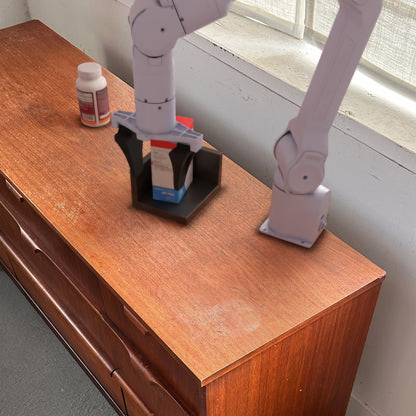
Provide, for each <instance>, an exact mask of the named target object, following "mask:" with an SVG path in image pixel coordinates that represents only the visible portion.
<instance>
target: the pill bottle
mask: <svg viewBox="0 0 416 416" xmlns="http://www.w3.org/2000/svg"><path fill="white" fill-rule="evenodd" d="M77 75H78V77H77V78H76V80H75V88H76V94H77V102H78V109H79V116H80V121H81V123H82V124H83V125H85V126H86V127H91V128H98V127H103V126H106V125H107V124H108V123H109V122H110V121H111V110H110V100H109V90H108V82H107V79H106V77H105V76H104V75H103V71H102V66H101V64H99V63H96V62H94V61H93V62H91V61H89V62H88V61H87V62H83V63H80V64H79V65H78V66H77Z"/></svg>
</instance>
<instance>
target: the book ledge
mask: <svg viewBox="0 0 416 416" xmlns="http://www.w3.org/2000/svg"><path fill="white" fill-rule="evenodd" d="M223 153H224V152H223V151H220V150H217V149H213V148H211V147H207V146H205V145H203V147H202V148H201V149H200V150H198V151H197V152H196V153H195V155H194V157H193V180H192V182H191V183H190V185H189V187H188V188H187V190H186V192H185V193H184V195H183V197H182V198H181V200H180V202H179V203H178V204H177V203H171V202H166V201H161V200H155V199H153V186H152V166H151V150H150V151H148V153H147V154H145V156H144V155H143V171H142V172H141V173H140V174H139V175H138V176H137V177H134V176H132V173H131V170H130V169H129V179H130V193H131V206H132V208H133V209H136V210H140V211H142V212H145V213H148V214H151V215H154V216H157V217H160V218H163V219H166V220H169V221H170V222H171V221H172V222H175V223H176V224H180V225H183V226H188V224H190V223H191V221H193V219H194V218H195V217H196V216H198V214H200V212H201V211H202V210H203V209H204V208H205V207H206V206H207V205H208V204H209V203H210V201H212V199H213V198H214V197H216V195H217V194H218V193H219V192H220V191H221V190H222V176H223V175H222V174H223V156H224V154H223Z"/></svg>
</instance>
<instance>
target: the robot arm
mask: <svg viewBox="0 0 416 416" xmlns="http://www.w3.org/2000/svg"><path fill="white" fill-rule="evenodd" d="M235 1H236V0H134V1H133V4H132V5H131V6H130V9H129V12H128V16H127V22H128V25H129V28H130V35H131V39H132V43H133V44H132V47H131V50H132V52H131V53H132V56H133V58H132V77H133V94H134V106H135V107H134V108H135V109H134V110H135V111H126V110H121V109H117V110H115V111H114V112H113V113H110V121H111V127H112V128H114V129H117V132H116V133H115V134H114V135H113V139H114V140H113V141H114V142H115V143H116V145H118V147H119V148H120V150H121V152H122V153H123V155H124V157H125V160H126V163H127V165H128V167H129V171H130V170H131V173H132V176H134V177H137V176H138V175H139V174H140V173H141V172H142V171H143V157H144V150H143V149H144V142H145V143H146V142H150V140H151V139H152V140H162V141H169V142H172V143H175V144H177V147H175V148H174V149H172V150H171V151H170V152H169V158H170V160H171V164H172V169H173V185H174V190H176V191H179V190H180V189H181V188H182V187H183V186H184V185H185V180H186V176H187V172H188V169H189V166H190V164H191V161H192V159H193V157H194V155H195V153H196V152H197V151H198V150H200V149H201V148H202V147H203V146H204V134H202V133H200V132H197V131H195V130H194V129H193V130H191V129H190V128H188V127H186V126H185V125H183V124H181V123H179V122H178V121H176V116H177V115H176V113H177V112H176V61H175V59H174V48H175V46H176V44H177V42H178V40H179V39H181V38H184V37H186V36H188V35H190V34H193V33H195V32H196V31H198V30H200V29H202V28H204V27H207V26H209V25H211V24H214V23H215V22H217V21H219V20H221V19H223V18H225V17H227V16H228V14H229V12H230V10H231V7H232V6H233V3H234V2H235ZM336 1H337V3H338V5H339V7H338V11H337V13H336V15H335V18H334V21H333V23H332V26H331V29H330V30H329V34H328V36H327V38H326V41H325V44H324V47H323V49H322V51H321V54H320V56H319V59H318V62H317V64H316V66H315V68H314V69H315V70H314V72H313V75H312V76H311V80H310V83H309V85H308V88H307V89H306V92H305V95H304V97H303V100H302V103H301V106H300V108H299V111H298V113H297V115H296V116H295V117H293V118H291V119H289V120H288V122H287V126H286V128H285V129H284V131H283V132H282V133H281V134H280V135H279V136H277V139H275V142H274V144H273V147H272V153H273V157H274V159H275V160H276V162H277V164H278V165H277V168H276V170H275V172H274V174H273V179H272V186H271V196H270V205H269V214H268V217H267V218H266V220H265V221H264V222H263V223H262V224H261V225H260V227H259V229H258V231H259V233H262V234H266V235H267V236H270V237H274V238H277V239H280V240H283V241H286V242H288V243H292V244H294V245H298V246H301V247H304V248H307V249H310V248H311V247H312V246H313V245H314V243H315V242H316V240H317V239H318V238H319V236H320V235H321V234H322V232H323V230H324V229H325V227H326V226H327V218H328V213H329V209H330V202H331V198H332V191H331V189H330V188H327V187H325V186H324V185H322V183H323V181H324V179H325V175H326V170H325V169H326V168H325V165H326V162H327V158H328V156H329V133H330V130H331V128H332V126H333V124H334V121H335V119H336V116H337V114H338V112H339V109H340V107H341V105H342V103H343V100H344V98H345V96H346V93H347V91H348V89H349V87H350V85H351V82H352V80H353V78H354V75H355V73H356V71H357V68H358V66H359V63H360V62H361V59H362V57H363V55H364V52H365V49H366V48H367V45H368V43H369V41H370V39H371V36H372V33H373V31H374V29H375V28H376V24H377V22H378V20H379V17H380V15H381V12H382V9H383V6H384V1H383V0H336Z"/></svg>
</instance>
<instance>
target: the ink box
mask: <svg viewBox="0 0 416 416" xmlns="http://www.w3.org/2000/svg"><path fill="white" fill-rule="evenodd" d="M176 121H178V122H179V123H181V124H183V125H185V126H186V127H188V128H190V129H191V130H193V131H194V118H190V117H186V116H181V115H176ZM149 144H150V145H149V147H150V151H151V166H152V186H153V199H155V200H161V201H166V202H171V203H177V204H178V203H179V202H180V200H181V198H182V197H183V195H184V193H185V192H186V190H187V188H188V187H189V185H190V183H191V182H192V180H193V159H192V161H191V164H190V166H189V169H188V172H187V176H186V180H185V185H184V186H183V187H182V188H181V189H180V190H179V191H176V190H174V185H173V169H172V164H171V160H170V158H169V152H170V151H171V150H172V149H174V148H175V147H177V144H175V143H172V142H169V141H162V140H152V139H151V140H150V141H149Z"/></svg>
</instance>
